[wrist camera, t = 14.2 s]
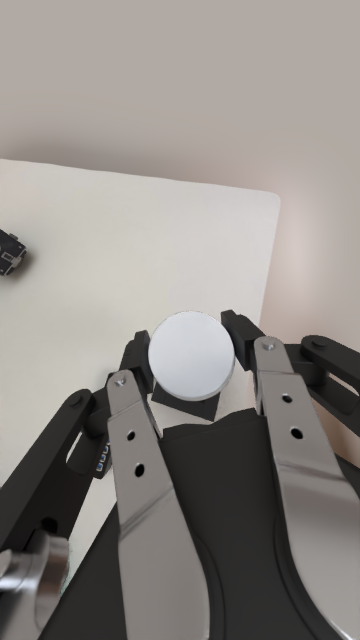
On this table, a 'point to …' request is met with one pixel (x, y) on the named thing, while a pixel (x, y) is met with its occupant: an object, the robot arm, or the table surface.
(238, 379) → the table surface
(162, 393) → the holder pad
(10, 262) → the camera
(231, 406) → the table surface
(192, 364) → the pill bottle
